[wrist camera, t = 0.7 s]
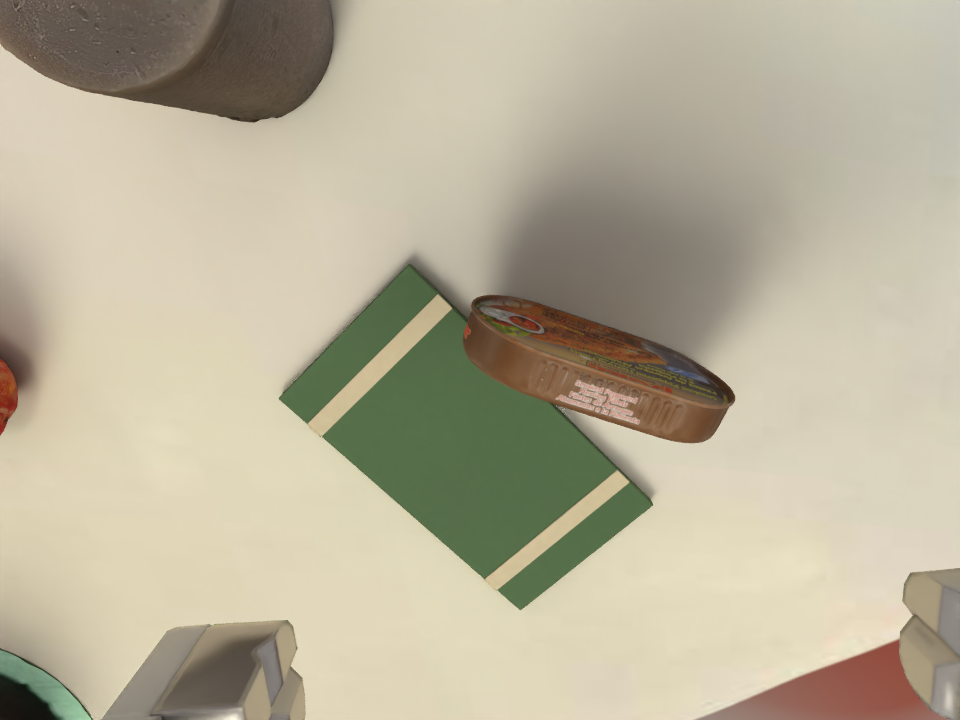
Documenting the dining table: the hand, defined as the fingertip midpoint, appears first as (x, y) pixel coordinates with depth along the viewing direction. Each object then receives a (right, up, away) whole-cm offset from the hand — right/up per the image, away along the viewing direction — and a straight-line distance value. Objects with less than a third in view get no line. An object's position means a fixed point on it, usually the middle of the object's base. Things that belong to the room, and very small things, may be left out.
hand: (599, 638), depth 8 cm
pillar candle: (-14, +22, +25) cm, 36 cm away
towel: (-2, -2, +32) cm, 32 cm away
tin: (+5, +5, +30) cm, 31 cm away
